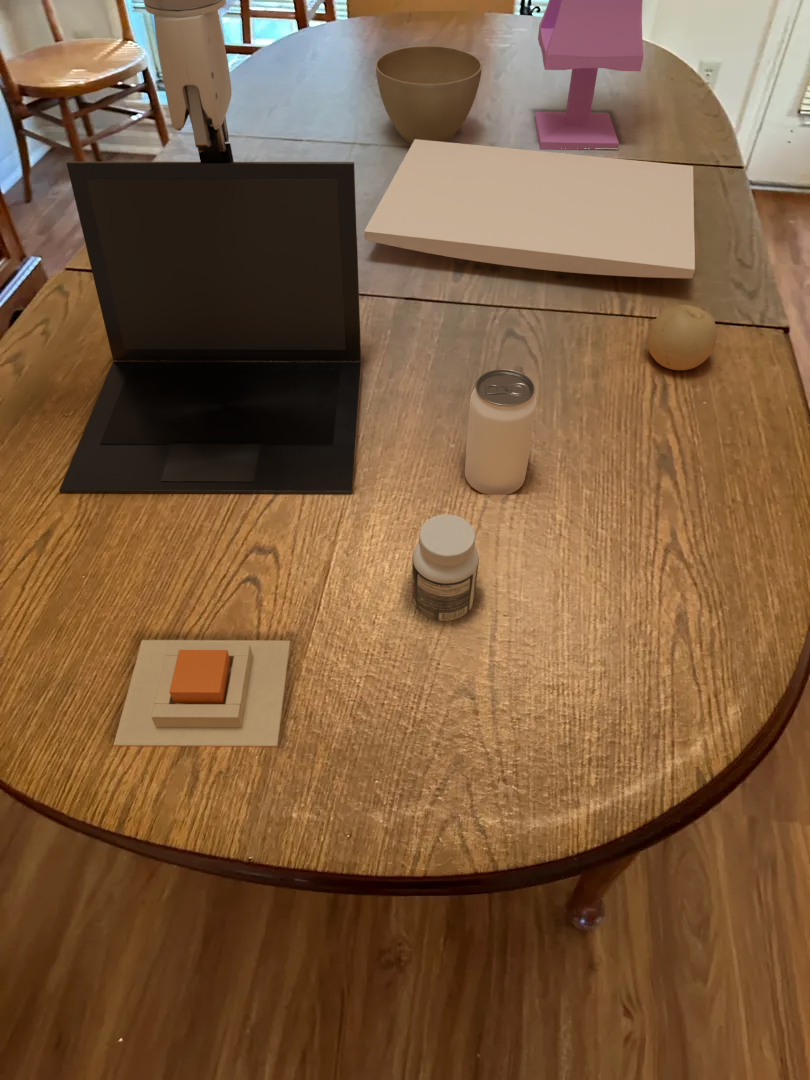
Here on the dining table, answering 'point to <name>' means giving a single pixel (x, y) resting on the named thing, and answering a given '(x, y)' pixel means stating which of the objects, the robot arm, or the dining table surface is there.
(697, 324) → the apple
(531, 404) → the can
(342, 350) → the laptop screen
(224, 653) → the push button
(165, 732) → the stepped tan base
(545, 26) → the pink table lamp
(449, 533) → the pill bottle
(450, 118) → the flower pot
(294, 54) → the dining table surface
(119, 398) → the laptop
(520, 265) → the board
